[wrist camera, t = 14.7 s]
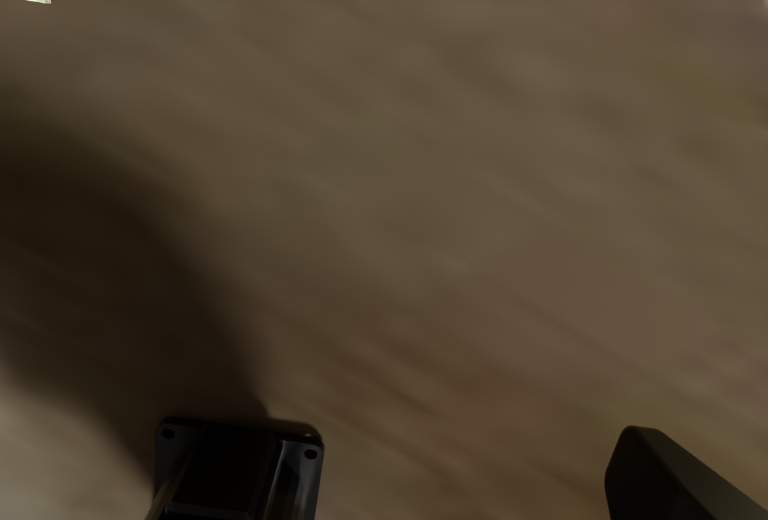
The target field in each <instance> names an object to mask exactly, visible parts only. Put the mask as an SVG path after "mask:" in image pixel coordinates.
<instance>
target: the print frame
mask: <svg viewBox="0 0 768 520" xmlns="http://www.w3.org/2000/svg"><path fill="white" fill-rule="evenodd" d="M29 1H35V2H41V3H51V0H29Z"/></svg>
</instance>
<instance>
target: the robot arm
mask: <svg viewBox="0 0 768 520" xmlns="http://www.w3.org/2000/svg"><path fill="white" fill-rule="evenodd" d="M167 429H171V430H173V431H174V432H170V431H168V430H167ZM308 449H312V450H315V451H316V452H309V451H307V450H308ZM324 450H325V448H324V444H323V442H322V441H321V440H319V439H317V438H314V437H308V436H301V435H294V434H287V433H280V432H274V431H267V430H260V429H253V428H246V427H239V426H232V425H225V424H219V423H212V422H205V421H198V420H191V419H184V418H177V417H166V418H163V419H162V420H161V421H160V423H159V425H158V426H157V428H156V432H155V489H156V498H155V500H154V502H153V504H152V506H151V508H150V510H149V512H148V514H147V516H146V518H145V520H314V519H315V512H316V505H317V498H318V491H319V484H320V478H321V471H322V464H323V457H324ZM604 485H605V493H606V498H607V503H608V509H609V514H610V519H611V520H768V511H767V510H765V509H764V508H763V507H761V506H760V505H759V504H757V503H756V502H755V501H753V500H752V499H751V498H749V497H748V496H747V495H745V494H744V493H743V492H741V491H740V490H739V489H737V488H736V487H735V486H733V485H732V484H731V483H729V482H728V481H727V480H725V479H724V478H723V477H721V476H720V475H719V474H717V473H716V472H715V471H713V470H712V469H711V468H709V467H708V466H707V465H705V464H704V463H703V462H701V461H700V460H699V459H697V458H696V457H695V456H693V455H692V454H691V453H689V452H688V451H687V450H685V449H684V448H683V447H681V446H680V445H679V444H677V443H676V442H675V441H673V440H672V439H671V438H669V437H668V436H667V435H665V434H664V433H663V432H661V431H660V430H657V429H654V428H647V427H640V426H633V425H630V426H627V427H625V428H624V430H623V431H622V432H621V434H620V437H619V439H618V442H617V444H616V447H615V449H614V452H613V454H612V457H611V459H610V462H609V464H608V467H607V469H606V473H605V480H604Z"/></svg>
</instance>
